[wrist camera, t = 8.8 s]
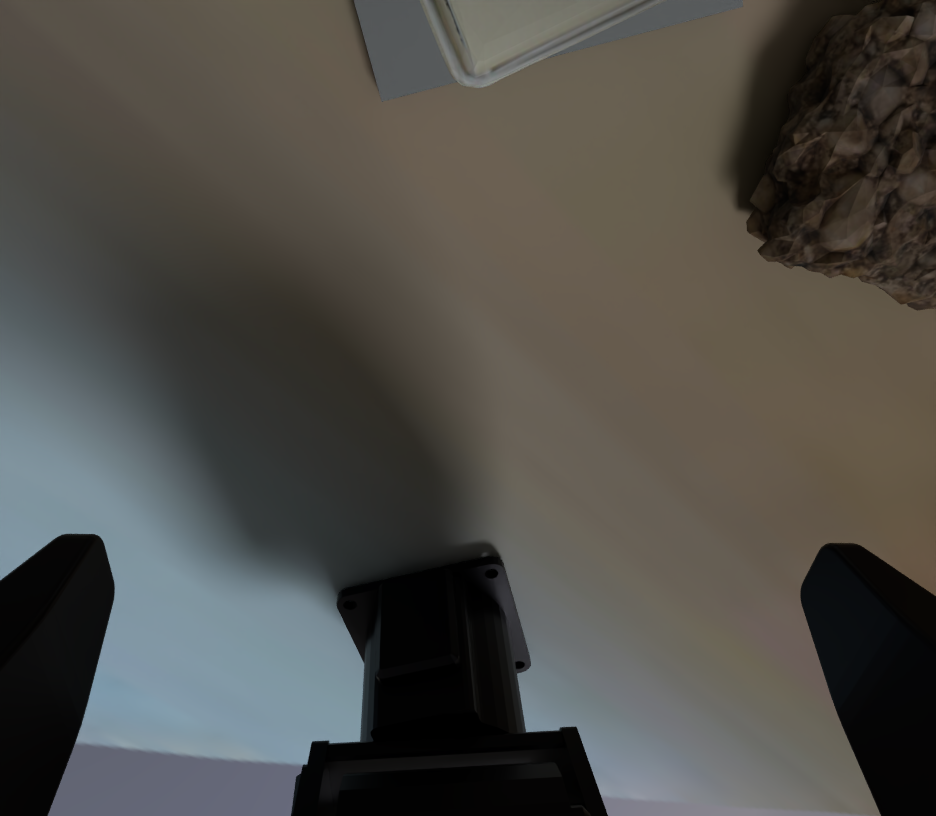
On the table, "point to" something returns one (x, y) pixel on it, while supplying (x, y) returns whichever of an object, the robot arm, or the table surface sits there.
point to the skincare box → (516, 31)
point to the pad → (422, 65)
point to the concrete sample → (860, 156)
